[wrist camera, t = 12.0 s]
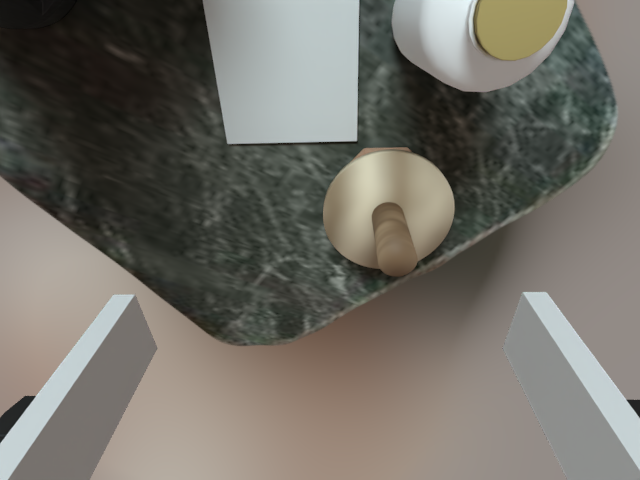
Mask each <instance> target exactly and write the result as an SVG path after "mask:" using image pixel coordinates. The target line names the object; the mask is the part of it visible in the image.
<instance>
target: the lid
mask: <svg viewBox="0 0 640 480" xmlns="http://www.w3.org/2000/svg"><path fill="white" fill-rule="evenodd" d="M454 209H455V207H454V197H453V193H452V190H451V188H450V185H449V183H448V182H447V180H446V178H445V177H444V175H443V174H442V173H441V171H440V170H439V169H438V168H437V167H436V166H435V165H434V164H433V163H432V162H430V161H429V160H427V159H426V158H424V157H422V156H420V155H418V154H416V153H413V152H410V151H405V150H397V149H387V150H379V151H374V152H371V153H368V154H365V155H362V156H360V157H358V158H356V159H355V160H353V161H352V162H350V163H349V164H347V165H346V166H345V167H344V168H343V169H341V171H340V172H339V173H338V174H337V175H336V176H335V178H334V179H333V181H332V182H331V184H330V186H329V188H328V190H327V193H326V196H325V201H324V208H323V221H324V227H325V231H326V233H327V236H328V238H329V240H330V241H331V243H332V244H333V246H334V247H335V248H336V249H337V250H338V251H339V252H340V253H341V254H342V255H343V256H345V257H346V258H347V259H349V260H351V261H353V262H354V263H357V264H359V265H362V266H365V267H369V268H375V269H381V270H382V271H383V272H384V273H385V274H387V275H390V276H403V275H406V274H408V273H410V272H411V271H412V270H413V269H414V268H415V267H416V265H417V261H419V260H421V259H423V258H424V257H426V256H427V255H429V254H430V253H431V252H432V251H434V250H435V249H436V248H437V247H438V246H439V245H440V244H441V242H442V241H443V240H444V238H445V237H446V235H447V233H448V232H449V229H450V227H451V225H452V221H453V217H454Z"/></svg>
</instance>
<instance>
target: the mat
mask: <svg viewBox="0 0 640 480" xmlns="http://www.w3.org/2000/svg"><path fill="white" fill-rule="evenodd" d="M203 5H204V11H205V17H206V23H207V29H208V34H209V40H210V46H211V52H212V57H213V63H214V69H215V75H216V81H217V86H218V92H219V98H220V104H221V110H222V115H223V121H224V127H225V133H226V138H227V144H248V143H293V142H338V141H357V109H358V45H359V0H203Z"/></svg>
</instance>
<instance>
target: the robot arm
mask: <svg viewBox="0 0 640 480" xmlns="http://www.w3.org/2000/svg"><path fill="white" fill-rule="evenodd" d="M75 2H76V0H0V27H2V28H9V29H33V28H41V27H45V26H48V25H51V24H53V23H55V22H57V21H59V20H60V19H61V18H63V17H64V16H65V15H66V14H67V13H68V12H69V11H70V9H71V8H72V7H73V5H74V3H75ZM156 350H157V346H156V344H155V341H154V339H153V337H152V334H151V332H150V330H149V327H148V325H147V322H146V320H145V317H144V315H143V312H142V310H141V308H140V305H139V303H138V301H137V298H136V296H135V295H134V294H132V295H131V294H127V295H113V296H112V297H111V299H110V300H109V301H108V303H107V304H106V305H105V306H104V308H103V309H102V310H101V312H100V313H99V314H98V316H97V317H96V318H95V320H94V321H93V322H92V324H91V325H90V326H89V327H88V329H87V330H86V332H85V333H84V334H83V335H82V337H81V338H80V339H79V341H78V342H77V343H76V345H75V346H74V347H73V348H72V350H71V351H70V352H69V354H68V355H67V356H66V358H65V359H64V360H63V362H62V363H61V364H60V366H59V367H58V368H57V370H56V371H55V372H54V373H53V375H52V376H51V377H50V379H49V380H48V381H47V383H46V384H45V385H44V387H43V388H42V389H41V391H40V392H39V393H38V395H37V396H25V397H24V398H22V399H21V400H20V401H18V402H17V403H16V404H15V405H14V406H12V407H11V408H10V409H9V410H7V411H6V412H5V413H4V414H3V415H2V416H1V418H0V480H90V478H91V476H92V474H93V472H94V470H95V468H96V466H97V464H98V462H99V460H100V459H101V456H102V455H103V453H104V451H105V449H106V447H107V445H108V443H109V441H110V439H111V437H112V435H113V433H114V431H115V429H116V427H117V425H118V424H119V421H120V420H121V418H122V415H123V414H124V412H125V410H126V408H127V406H128V404H129V402H130V400H131V398H132V396H133V394H134V392H135V390H136V388H137V387H138V384H139V383H140V381H141V378H142V377H143V375H144V373H145V371H146V369H147V367H148V365H149V363H150V361H151V359H152V357H153V355H154V353H155V352H156ZM503 351H504V352H505V355H506V357H507V359H508V361H509V363H510V365H511V367H512V369H513V371H514V373H515V375H516V377H517V379H518V381H519V383H520V385H521V387H522V389H523V391H524V393H525V395H526V397H527V399H528V401H529V403H530V405H531V408H532V410H533V412H534V414H535V415H536V418H537V420H538V422H539V424H540V426H541V428H542V430H543V432H544V434H545V436H546V438H547V440H548V442H549V444H550V446H551V448H552V450H553V452H554V454H555V456H556V458H557V460H558V462H559V464H560V466H561V468H562V471H563V472H564V475H565V476H566V479H567V480H640V400H626V399H625V398H624V396H623V395H622V394H621V392H620V391H619V390H618V388H617V387H616V386H615V384H614V383H613V381H612V380H611V379H610V377H609V376H608V375H607V373H606V372H605V371H604V369H603V368H602V367H601V365H600V364H599V363H598V361H597V360H596V359H595V357H594V356H593V355H592V353H591V352H590V350H589V349H588V348H587V346H586V345H585V344H584V342H583V341H582V340H581V338H580V337H579V336H578V334H577V333H576V331H575V330H574V329H573V327H572V326H571V325H570V323H569V322H568V321H567V319H566V318H565V317H564V315H563V314H562V313H561V311H560V310H559V309H558V307H557V306H556V305H555V303H554V302H553V300H552V299H551V298H550V296H549V295H548V294H547V292H523V293H522V295H521V298H520V301H519V304H518V306H517V309H516V312H515V315H514V318H513V321H512V323H511V326H510V329H509V332H508V335H507V337H506V340H505V343H504V346H503Z"/></svg>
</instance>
